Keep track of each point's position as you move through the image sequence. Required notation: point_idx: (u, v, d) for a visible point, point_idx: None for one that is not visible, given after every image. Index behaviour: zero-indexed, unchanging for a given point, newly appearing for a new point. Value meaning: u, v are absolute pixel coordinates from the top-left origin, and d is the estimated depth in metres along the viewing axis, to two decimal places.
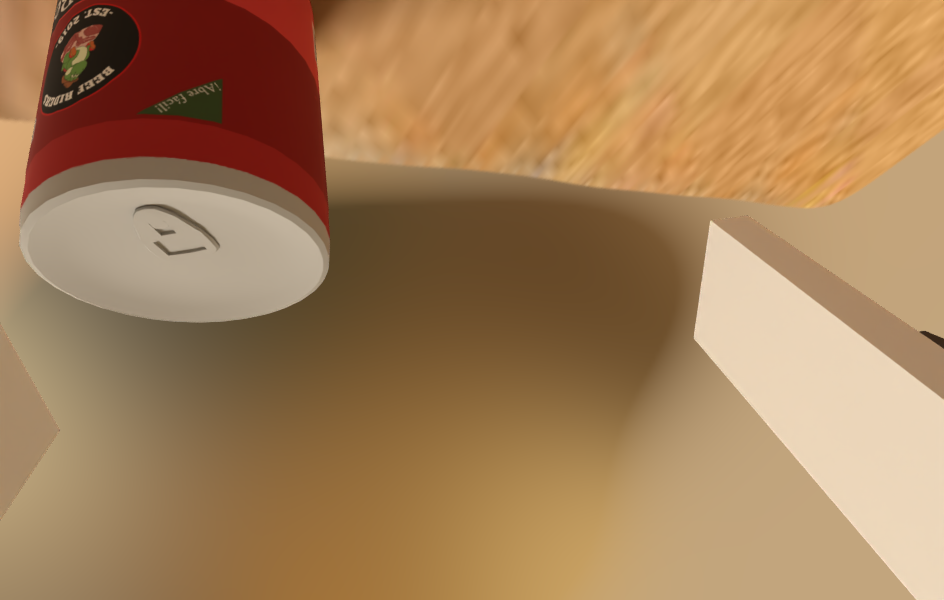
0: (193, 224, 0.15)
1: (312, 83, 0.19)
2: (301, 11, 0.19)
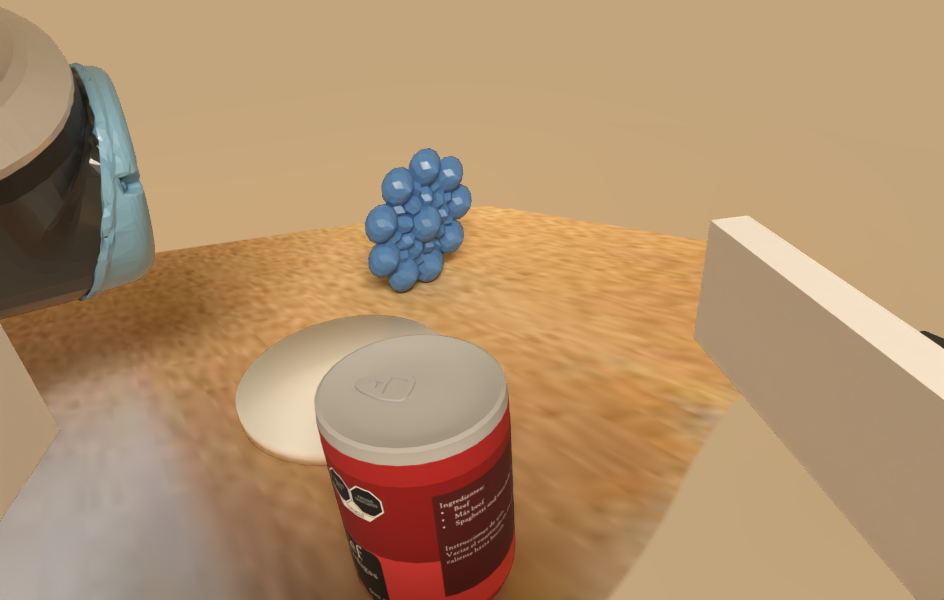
0: (384, 374, 0.25)
1: None
2: None
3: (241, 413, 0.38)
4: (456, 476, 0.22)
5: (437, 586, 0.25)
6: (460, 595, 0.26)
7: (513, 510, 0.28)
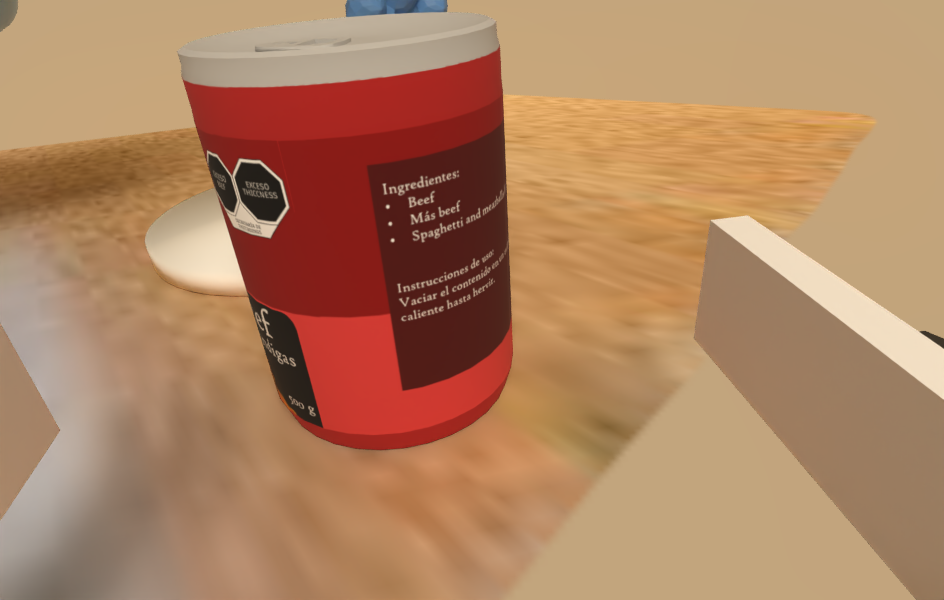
0: (303, 41, 0.16)
1: None
2: None
3: (150, 244, 0.29)
4: (408, 126, 0.13)
5: (389, 368, 0.16)
6: (427, 391, 0.16)
7: (509, 284, 0.18)
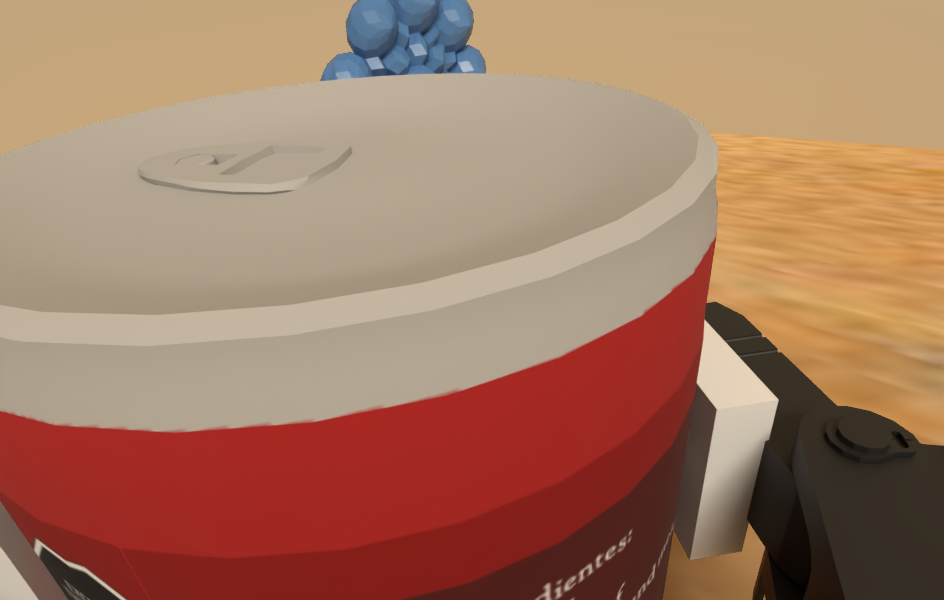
0: (250, 145, 0.08)
1: None
2: None
3: None
4: (527, 491, 0.04)
5: None
6: None
7: None
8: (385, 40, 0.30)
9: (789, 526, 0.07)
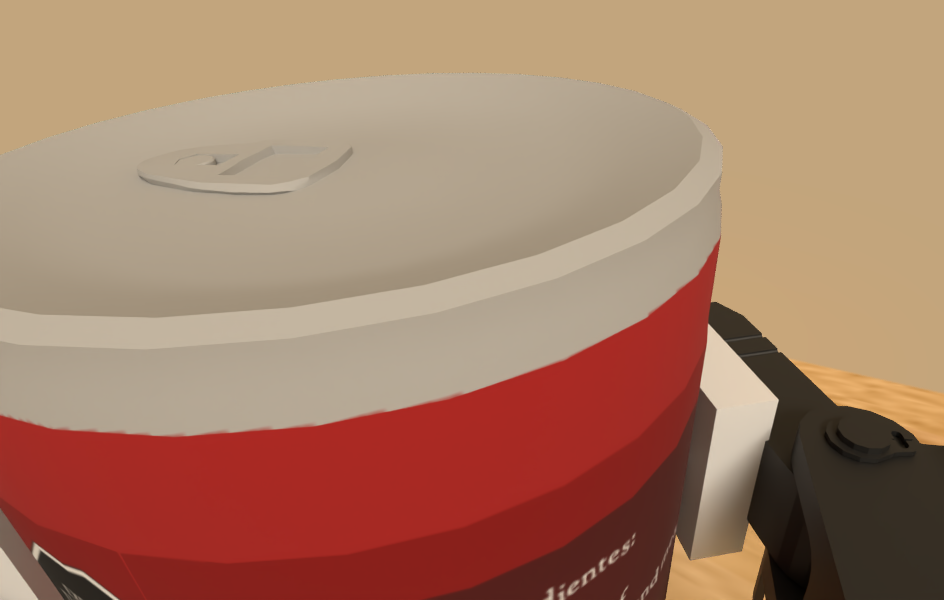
0: (251, 145, 0.07)
1: None
2: None
3: None
4: (529, 495, 0.04)
5: None
6: None
7: None
8: None
9: (789, 526, 0.07)
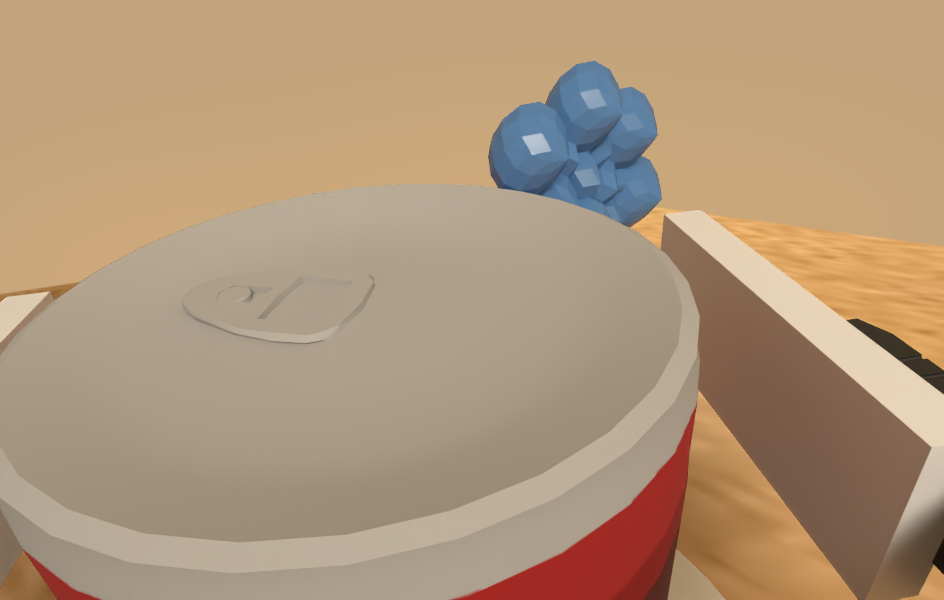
0: (281, 272, 0.08)
1: None
2: None
3: None
4: None
5: None
6: None
7: None
8: (553, 176, 0.19)
9: None
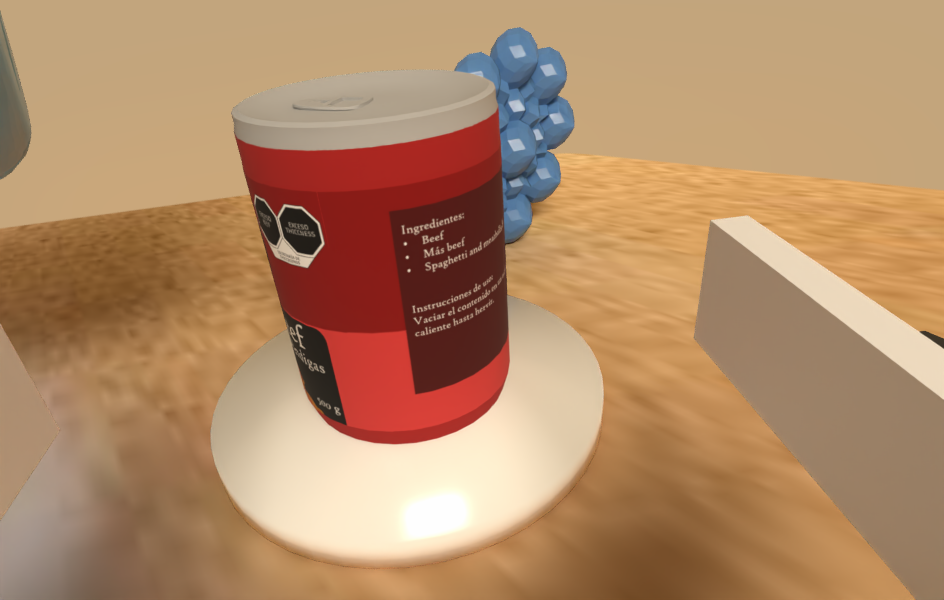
0: (332, 98, 0.19)
1: None
2: None
3: (220, 457, 0.20)
4: (423, 180, 0.16)
5: (404, 375, 0.18)
6: (436, 394, 0.19)
7: (507, 302, 0.21)
8: None
9: None
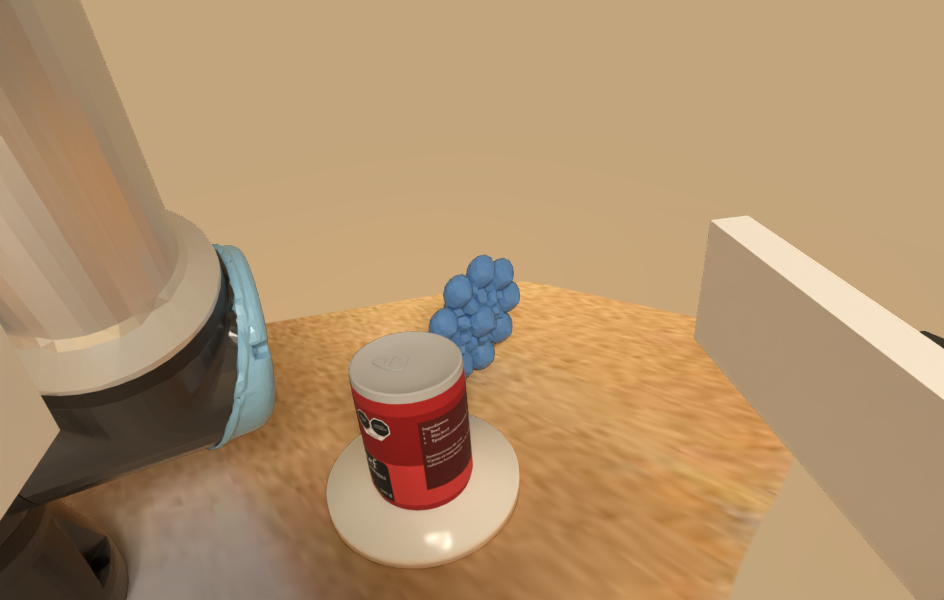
0: (389, 355, 0.42)
1: None
2: None
3: (335, 516, 0.43)
4: (431, 411, 0.39)
5: (422, 482, 0.41)
6: (436, 489, 0.42)
7: (470, 441, 0.44)
8: (466, 302, 0.53)
9: None
